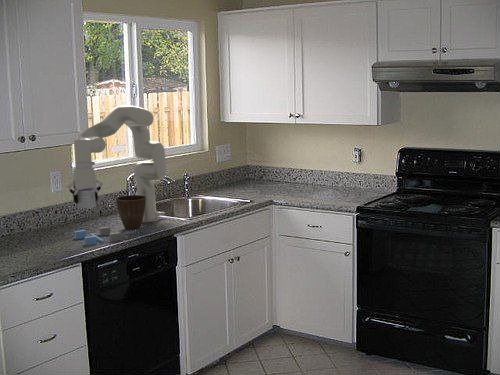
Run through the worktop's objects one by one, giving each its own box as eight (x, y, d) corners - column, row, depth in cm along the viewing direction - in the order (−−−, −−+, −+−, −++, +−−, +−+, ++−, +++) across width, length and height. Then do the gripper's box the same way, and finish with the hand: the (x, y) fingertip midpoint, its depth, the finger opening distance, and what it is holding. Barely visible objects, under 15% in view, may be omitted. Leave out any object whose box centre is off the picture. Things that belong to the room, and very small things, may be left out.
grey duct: (115, 232, 348) (115, 225, 348) (128, 239, 333) (128, 232, 332) (99, 234, 344) (98, 227, 344) (111, 241, 329) (110, 234, 328)
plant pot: (153, 227, 358) (152, 196, 355) (133, 233, 346) (131, 201, 343) (132, 224, 366) (130, 194, 364) (111, 230, 354) (109, 198, 351)
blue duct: (92, 235, 343) (91, 228, 342) (104, 242, 327) (103, 235, 327) (74, 238, 338) (74, 231, 338) (86, 245, 323) (85, 238, 322)
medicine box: (96, 207, 331) (95, 188, 330) (91, 208, 327) (90, 190, 325) (81, 206, 333) (79, 188, 332) (76, 208, 329) (75, 190, 328)
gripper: (99, 162, 334) (101, 198, 337) (62, 166, 326) (65, 203, 328) (104, 164, 328) (106, 201, 331) (67, 167, 319) (70, 205, 322)
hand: (85, 201), depth 330 cm, fingers closed on medicine box, 8 cm apart
